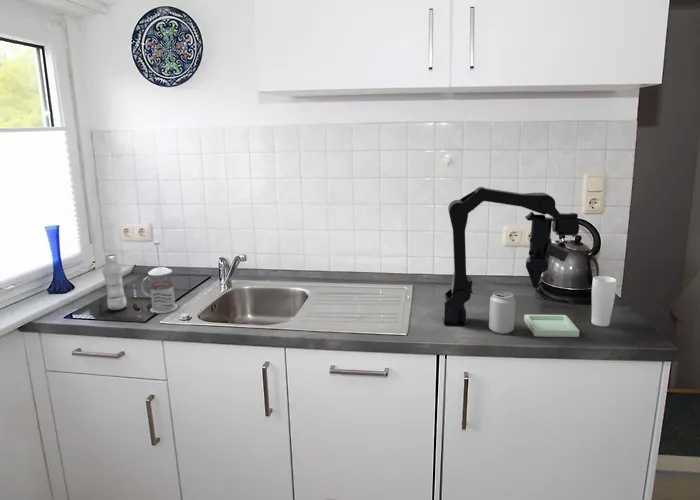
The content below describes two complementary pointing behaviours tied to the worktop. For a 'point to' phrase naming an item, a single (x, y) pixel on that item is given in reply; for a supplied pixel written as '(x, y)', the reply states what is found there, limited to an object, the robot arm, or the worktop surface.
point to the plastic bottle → (114, 283)
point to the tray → (551, 326)
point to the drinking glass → (602, 300)
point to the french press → (161, 290)
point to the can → (502, 312)
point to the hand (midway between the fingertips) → (536, 283)
